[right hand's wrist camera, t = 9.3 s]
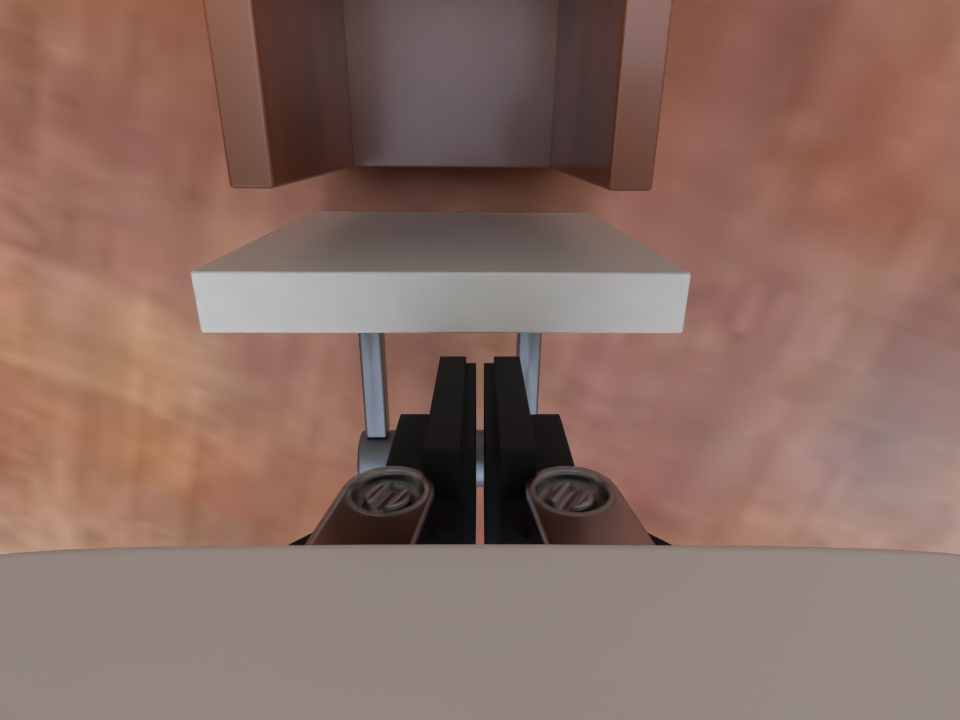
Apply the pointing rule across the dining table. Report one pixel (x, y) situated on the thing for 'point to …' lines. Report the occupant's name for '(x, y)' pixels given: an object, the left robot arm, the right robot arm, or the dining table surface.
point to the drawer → (440, 144)
